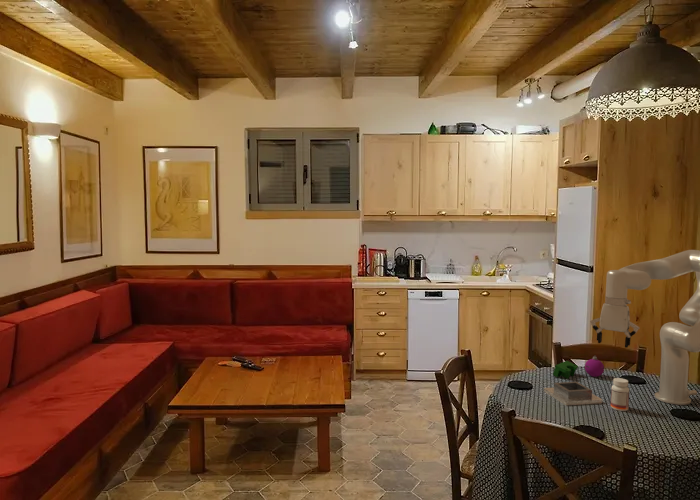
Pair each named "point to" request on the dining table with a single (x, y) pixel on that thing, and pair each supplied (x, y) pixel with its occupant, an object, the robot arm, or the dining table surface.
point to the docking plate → (572, 394)
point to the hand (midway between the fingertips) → (612, 344)
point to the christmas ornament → (594, 367)
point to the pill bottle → (620, 394)
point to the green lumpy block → (565, 369)
